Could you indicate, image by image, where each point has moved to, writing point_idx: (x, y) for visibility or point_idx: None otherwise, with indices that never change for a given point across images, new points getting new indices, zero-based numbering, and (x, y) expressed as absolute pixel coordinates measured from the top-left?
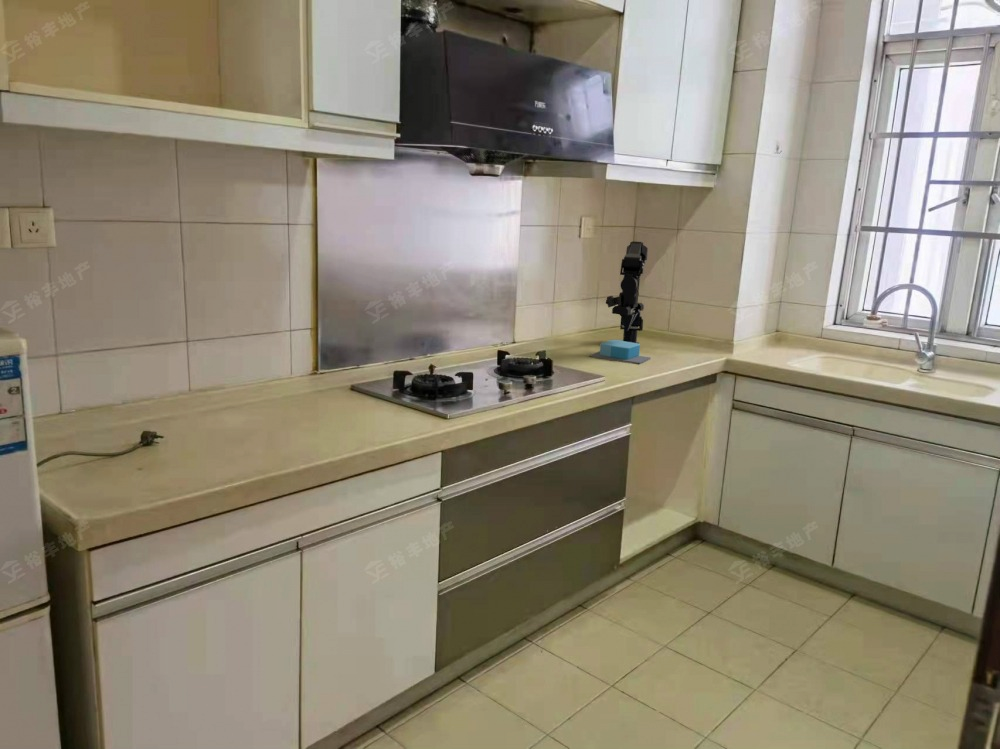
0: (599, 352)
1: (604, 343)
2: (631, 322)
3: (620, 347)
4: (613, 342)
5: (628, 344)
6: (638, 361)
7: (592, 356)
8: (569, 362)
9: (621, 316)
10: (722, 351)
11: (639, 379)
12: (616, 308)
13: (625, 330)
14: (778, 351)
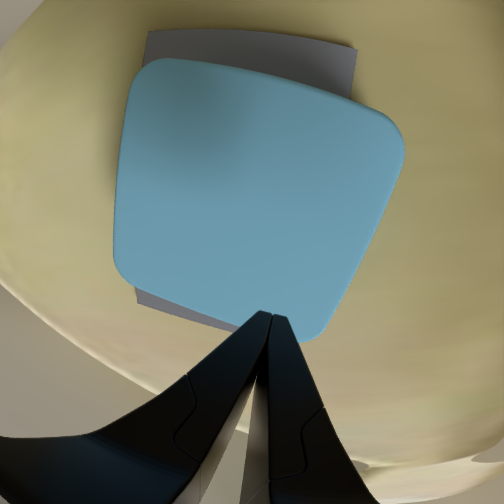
0: (266, 48)
1: (155, 90)
2: (246, 451)
3: (113, 232)
4: (249, 147)
5: (232, 277)
6: (155, 297)
7: (148, 48)
8: (27, 42)
9: (75, 438)
10: (467, 449)
11: (11, 291)
12: None
13: (258, 316)
14: (462, 480)
